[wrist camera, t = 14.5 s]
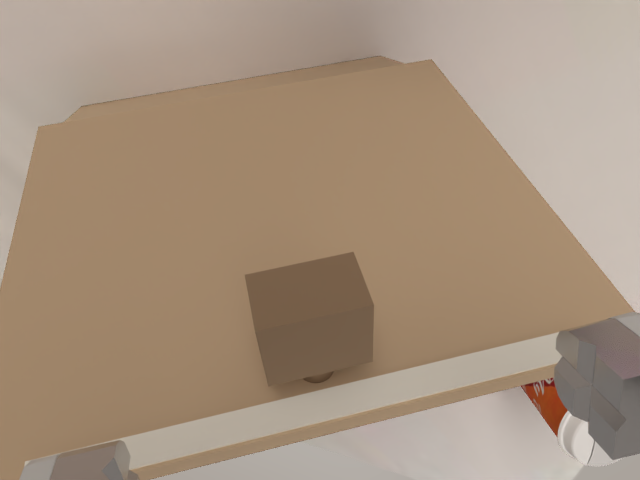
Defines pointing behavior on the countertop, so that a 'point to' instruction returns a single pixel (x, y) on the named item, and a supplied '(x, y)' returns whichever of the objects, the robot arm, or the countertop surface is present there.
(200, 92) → the carton
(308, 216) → the lid flap
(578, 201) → the countertop surface
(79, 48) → the countertop surface
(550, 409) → the paper cup
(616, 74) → the countertop surface
